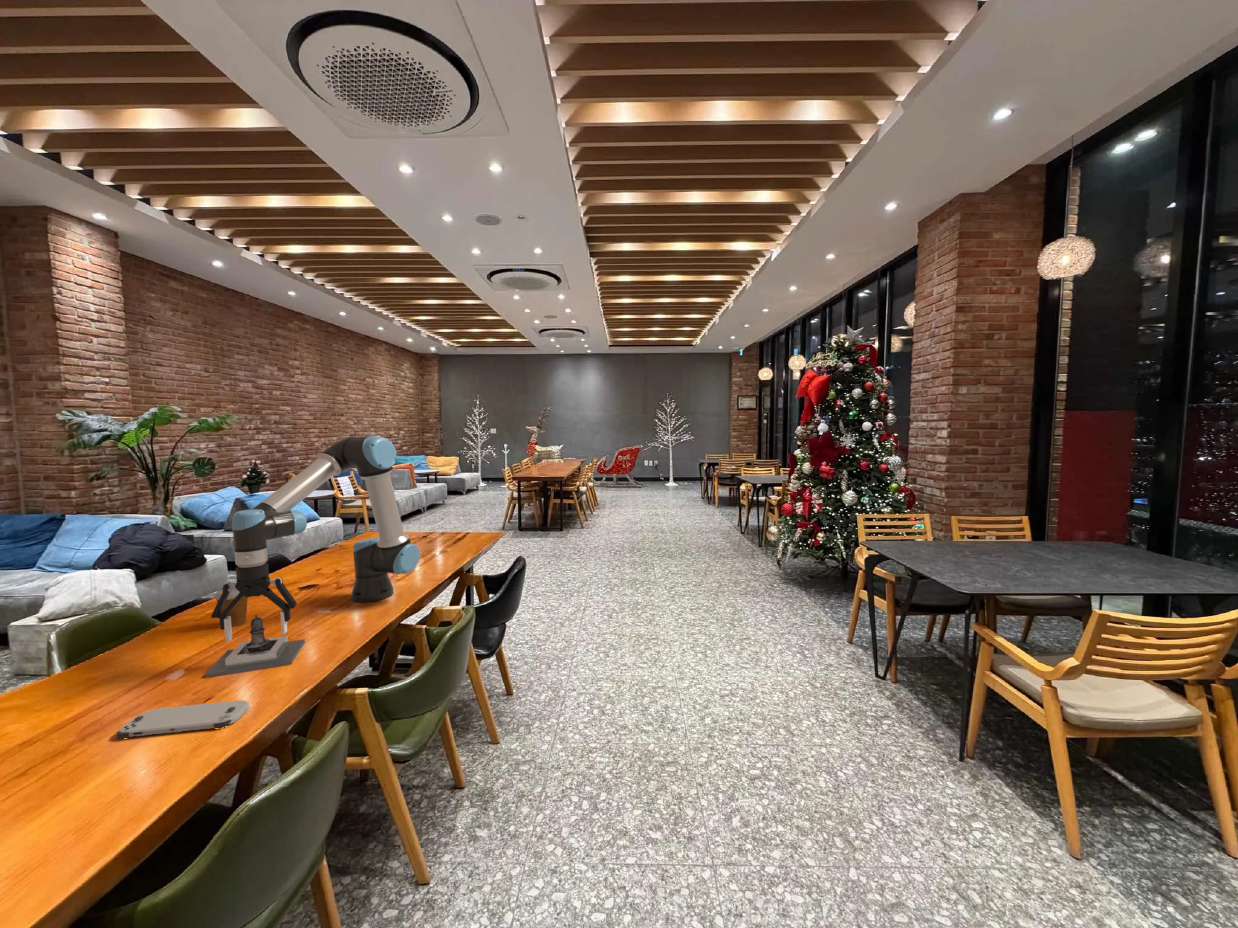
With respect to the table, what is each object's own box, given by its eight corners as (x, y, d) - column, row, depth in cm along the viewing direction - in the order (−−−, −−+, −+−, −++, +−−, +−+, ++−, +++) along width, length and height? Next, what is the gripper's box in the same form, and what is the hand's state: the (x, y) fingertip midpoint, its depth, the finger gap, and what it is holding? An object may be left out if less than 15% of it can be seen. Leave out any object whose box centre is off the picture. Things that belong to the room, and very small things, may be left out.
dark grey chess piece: (276, 652, 148) (273, 612, 148) (256, 660, 143) (253, 619, 142) (262, 649, 150) (258, 610, 149) (241, 658, 145) (238, 617, 144)
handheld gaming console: (254, 695, 122) (229, 718, 112) (255, 706, 122) (230, 730, 112) (145, 705, 118) (109, 730, 108) (146, 716, 118) (111, 742, 108)
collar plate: (305, 642, 157) (304, 631, 157) (291, 664, 142) (290, 652, 142) (227, 653, 151) (227, 641, 150) (205, 677, 136) (204, 665, 135)
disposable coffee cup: (258, 618, 179) (255, 585, 178) (235, 629, 169) (232, 594, 168) (233, 618, 180) (231, 585, 179) (209, 628, 170) (206, 594, 169)
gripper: (192, 572, 137) (198, 648, 138) (298, 562, 145) (303, 633, 147) (204, 565, 144) (210, 638, 145) (305, 556, 152) (309, 624, 154)
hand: (257, 636), depth 146 cm, fingers open, 13 cm apart
